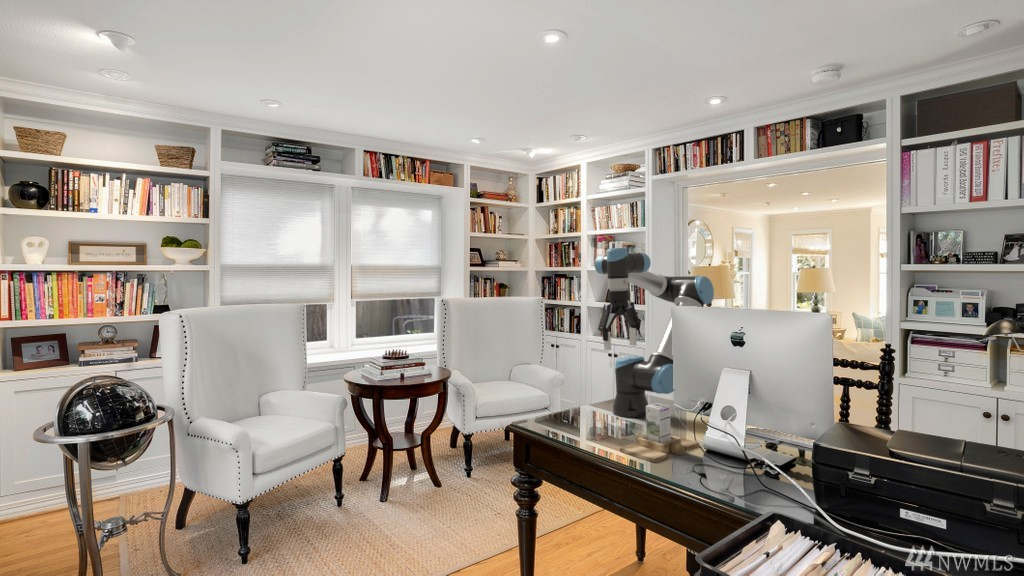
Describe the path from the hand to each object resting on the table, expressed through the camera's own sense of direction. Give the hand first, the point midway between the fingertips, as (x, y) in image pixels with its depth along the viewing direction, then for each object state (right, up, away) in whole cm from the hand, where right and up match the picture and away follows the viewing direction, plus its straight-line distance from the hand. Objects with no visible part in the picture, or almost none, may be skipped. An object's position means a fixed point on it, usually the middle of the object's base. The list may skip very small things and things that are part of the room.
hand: (620, 347), depth 198 cm
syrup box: (+8, -31, -21) cm, 39 cm away
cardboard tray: (+9, -31, -21) cm, 38 cm away
